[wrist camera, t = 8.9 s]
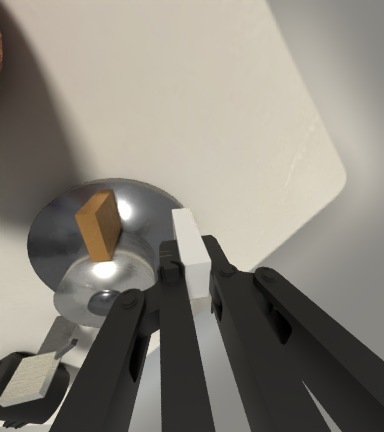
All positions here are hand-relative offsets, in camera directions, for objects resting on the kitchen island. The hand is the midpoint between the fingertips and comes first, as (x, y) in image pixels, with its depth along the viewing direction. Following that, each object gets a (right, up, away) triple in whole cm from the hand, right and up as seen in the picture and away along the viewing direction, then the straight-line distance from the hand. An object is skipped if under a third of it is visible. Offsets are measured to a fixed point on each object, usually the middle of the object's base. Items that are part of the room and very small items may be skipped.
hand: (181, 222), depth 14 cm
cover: (-7, -4, +4) cm, 10 cm away
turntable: (-7, -3, +6) cm, 10 cm away
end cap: (-26, -24, +14) cm, 38 cm away
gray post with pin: (-17, -14, +10) cm, 24 cm away
